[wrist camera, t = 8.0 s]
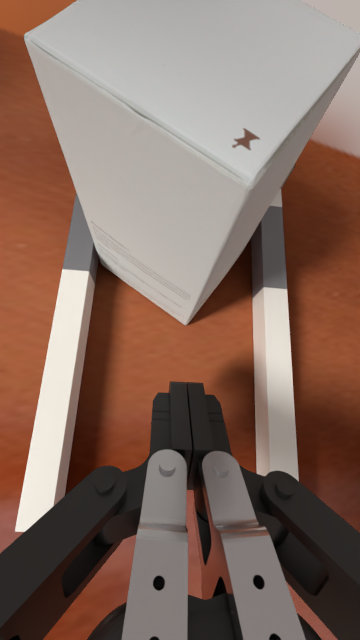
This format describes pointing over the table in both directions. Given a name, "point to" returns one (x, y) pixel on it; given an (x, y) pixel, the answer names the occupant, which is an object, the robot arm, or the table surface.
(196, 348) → the table surface
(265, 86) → the supplement box
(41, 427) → the guide channel
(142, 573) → the robot arm
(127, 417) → the table surface
